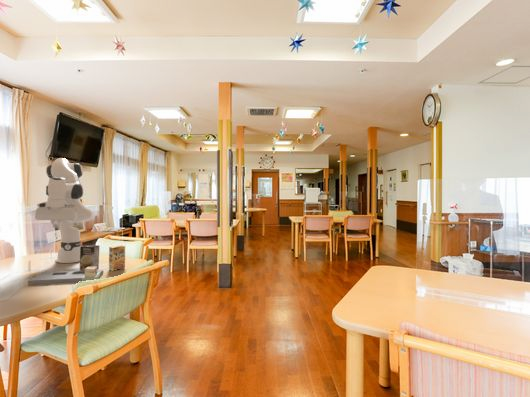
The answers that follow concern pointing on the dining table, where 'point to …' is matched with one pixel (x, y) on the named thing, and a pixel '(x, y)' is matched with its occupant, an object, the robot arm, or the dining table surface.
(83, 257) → the coffee box
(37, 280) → the trap board
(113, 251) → the candy box
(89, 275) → the maple block
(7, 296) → the dining table surface
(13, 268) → the dining table surface
